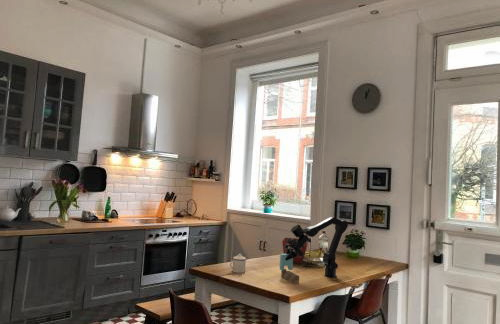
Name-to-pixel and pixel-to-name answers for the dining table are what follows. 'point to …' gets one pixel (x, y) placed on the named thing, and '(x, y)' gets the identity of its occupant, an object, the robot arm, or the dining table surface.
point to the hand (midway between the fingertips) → (284, 259)
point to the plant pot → (298, 259)
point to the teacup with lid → (238, 264)
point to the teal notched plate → (285, 262)
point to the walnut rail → (290, 276)
